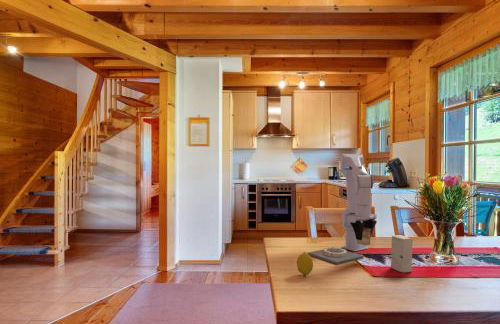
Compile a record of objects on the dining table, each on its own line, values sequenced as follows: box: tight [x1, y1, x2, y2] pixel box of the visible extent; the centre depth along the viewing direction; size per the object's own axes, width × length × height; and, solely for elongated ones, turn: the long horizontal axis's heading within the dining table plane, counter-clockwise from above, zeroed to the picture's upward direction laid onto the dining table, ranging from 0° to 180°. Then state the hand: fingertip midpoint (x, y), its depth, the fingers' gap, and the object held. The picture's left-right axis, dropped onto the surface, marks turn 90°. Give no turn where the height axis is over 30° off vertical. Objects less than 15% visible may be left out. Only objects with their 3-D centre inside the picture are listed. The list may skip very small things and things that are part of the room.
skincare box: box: [390, 234, 413, 273], centre depth 116 cm, size 6×4×12 cm
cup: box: [357, 227, 371, 246], centre depth 126 cm, size 5×5×6 cm
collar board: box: [307, 247, 365, 265], centre depth 132 cm, size 16×16×2 cm
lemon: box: [296, 252, 314, 277], centre depth 109 cm, size 6×6×8 cm
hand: (363, 238), depth 126 cm, fingers closed on cup, 5 cm apart
